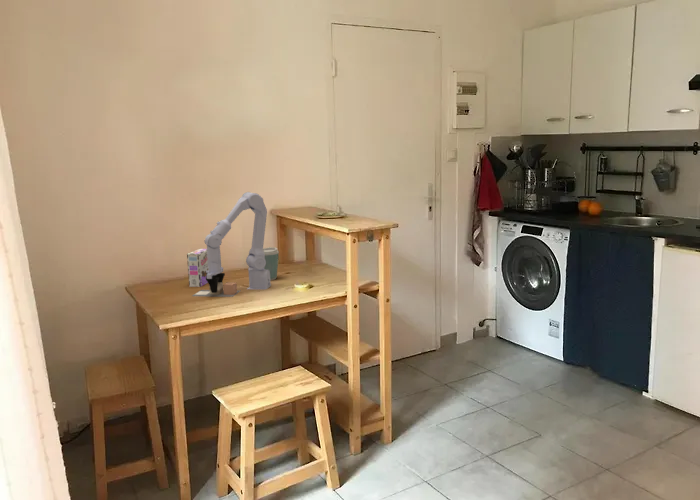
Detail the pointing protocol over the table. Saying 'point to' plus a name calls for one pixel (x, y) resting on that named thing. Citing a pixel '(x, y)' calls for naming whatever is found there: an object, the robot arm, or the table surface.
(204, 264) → the candy box
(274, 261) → the disposable coffee cup
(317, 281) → the table surface
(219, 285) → the block cream
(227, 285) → the block terracotta
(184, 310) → the table surface
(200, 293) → the board
